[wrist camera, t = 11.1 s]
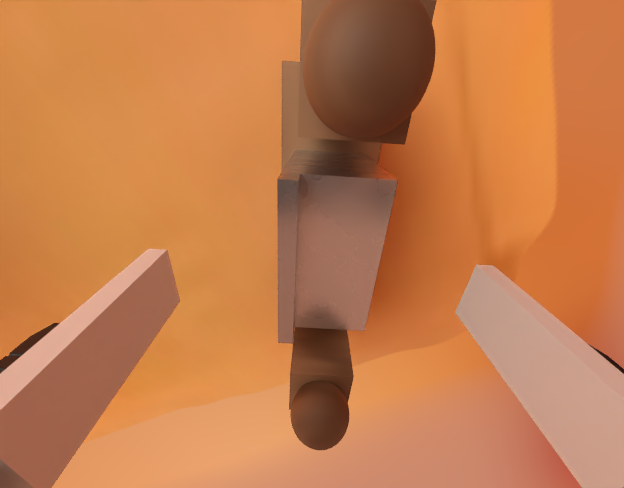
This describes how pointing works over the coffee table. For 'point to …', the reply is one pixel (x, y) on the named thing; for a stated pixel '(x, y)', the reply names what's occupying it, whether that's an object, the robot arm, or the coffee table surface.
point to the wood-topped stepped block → (330, 239)
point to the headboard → (347, 151)
